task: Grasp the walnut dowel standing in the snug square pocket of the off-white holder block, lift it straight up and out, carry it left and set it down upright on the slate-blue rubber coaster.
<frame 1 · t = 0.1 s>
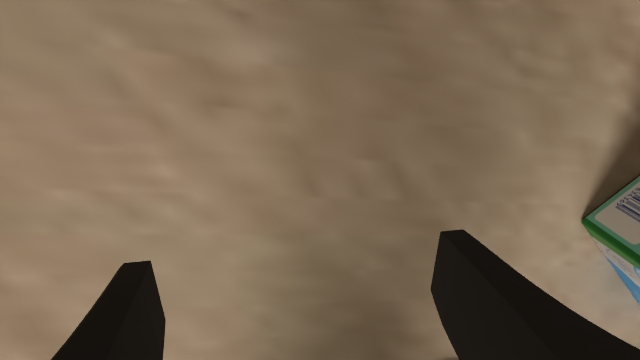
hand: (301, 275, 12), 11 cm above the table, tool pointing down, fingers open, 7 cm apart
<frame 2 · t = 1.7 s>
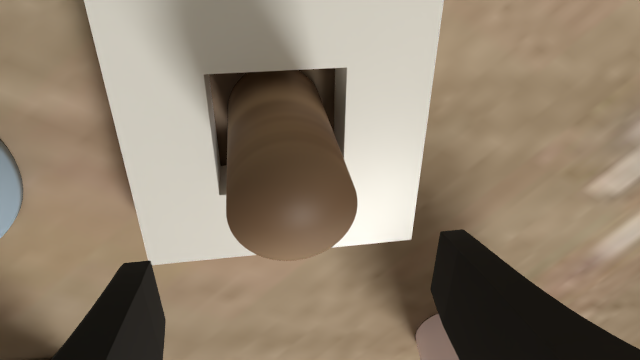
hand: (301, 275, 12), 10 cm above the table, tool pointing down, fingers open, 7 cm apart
holder block: (275, 109, 21), on the table
walnut dowel: (282, 151, 18), in the holder block
smoothie: (442, 329, 31), on the table
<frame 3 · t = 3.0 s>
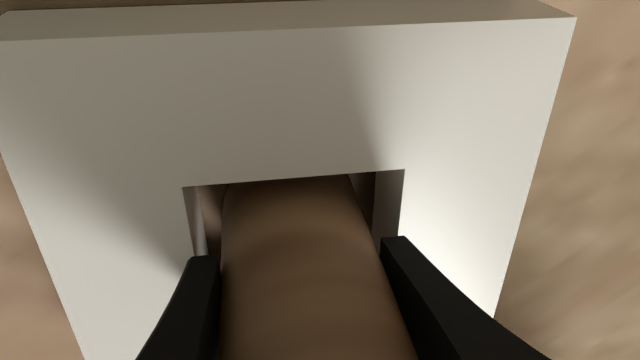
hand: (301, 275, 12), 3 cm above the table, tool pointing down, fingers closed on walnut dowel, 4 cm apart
holder block: (290, 208, 15), on the table
walnut dowel: (305, 299, 11), in the holder block, touching gripper
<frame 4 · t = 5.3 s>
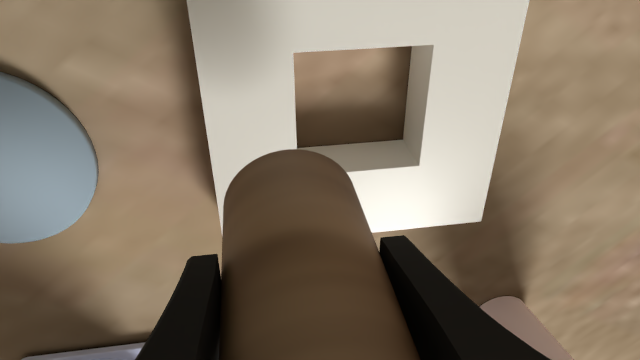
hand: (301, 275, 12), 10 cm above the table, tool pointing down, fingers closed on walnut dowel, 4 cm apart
holder block: (349, 90, 21), on the table
walnut dowel: (306, 298, 11), point 11 cm above the table, touching gripper
smoothie: (495, 314, 31), on the table
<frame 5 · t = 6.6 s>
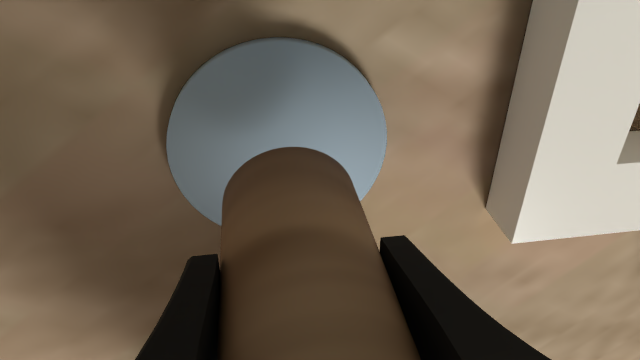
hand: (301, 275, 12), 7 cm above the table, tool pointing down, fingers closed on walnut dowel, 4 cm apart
coaster: (279, 143, 18), on the table
walnut dowel: (305, 296, 11), point 8 cm above the table, touching gripper
when the fingers open (5 cm above the table, at t = 7.4 s): walnut dowel drops 2 cm, resting on coaster.
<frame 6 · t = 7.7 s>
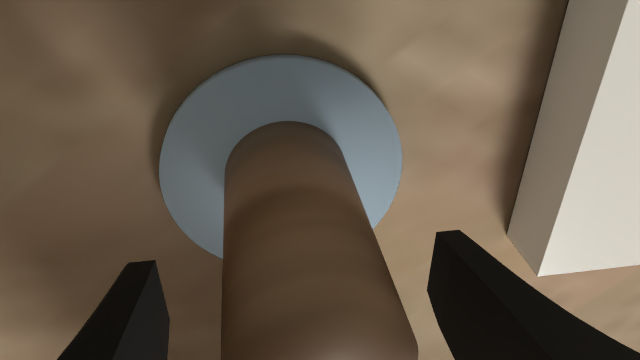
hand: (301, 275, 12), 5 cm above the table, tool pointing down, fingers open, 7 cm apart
coaster: (283, 169, 16), on the table
walnut dowel: (299, 250, 13), on the coaster, point 4 cm above the table
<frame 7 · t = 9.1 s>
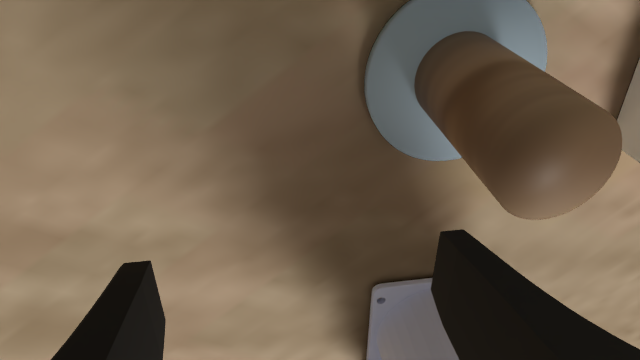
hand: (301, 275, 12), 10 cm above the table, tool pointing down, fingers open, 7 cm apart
coaster: (452, 75, 21), on the table
walnut dowel: (499, 114, 18), on the coaster, point 4 cm above the table
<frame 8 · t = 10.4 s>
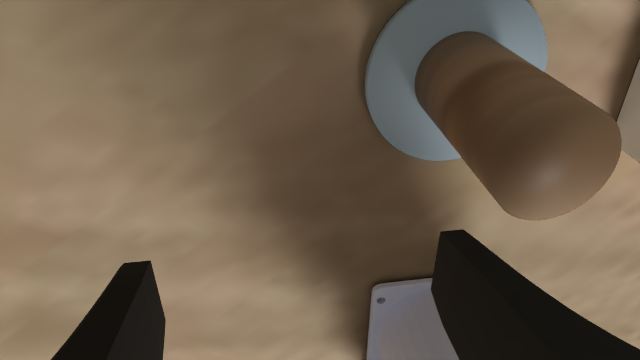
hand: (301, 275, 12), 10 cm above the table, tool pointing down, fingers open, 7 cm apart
coaster: (452, 75, 21), on the table
walnut dowel: (499, 114, 18), on the coaster, point 4 cm above the table
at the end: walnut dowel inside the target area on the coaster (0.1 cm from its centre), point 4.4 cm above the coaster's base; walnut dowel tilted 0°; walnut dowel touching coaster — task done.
